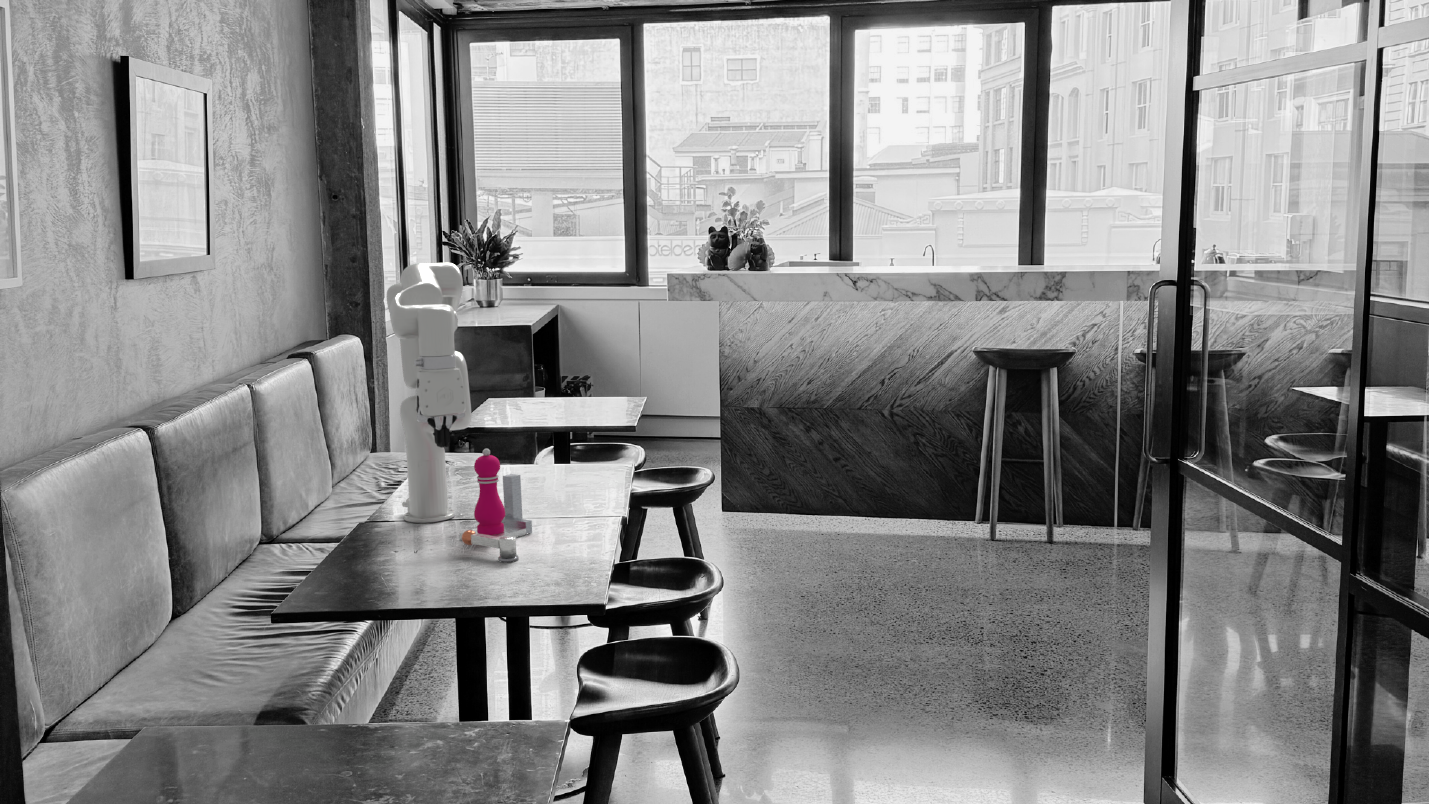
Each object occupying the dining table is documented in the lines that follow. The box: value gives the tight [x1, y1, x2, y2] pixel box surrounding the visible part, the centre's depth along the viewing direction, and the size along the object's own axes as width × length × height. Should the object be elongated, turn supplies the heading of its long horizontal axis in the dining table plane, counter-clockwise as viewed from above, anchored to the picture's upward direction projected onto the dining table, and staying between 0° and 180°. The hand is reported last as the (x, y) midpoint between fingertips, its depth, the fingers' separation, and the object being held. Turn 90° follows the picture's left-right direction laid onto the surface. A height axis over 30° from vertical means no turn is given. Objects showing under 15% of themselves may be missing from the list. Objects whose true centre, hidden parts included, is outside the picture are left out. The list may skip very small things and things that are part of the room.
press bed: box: [459, 473, 533, 563], centre depth 271 cm, size 26×26×13 cm
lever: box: [461, 529, 518, 558], centre depth 260 cm, size 16×4×4 cm, turn 55°
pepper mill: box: [473, 448, 505, 535], centre depth 275 cm, size 7×7×20 cm
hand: (442, 446), depth 258 cm, fingers closed
